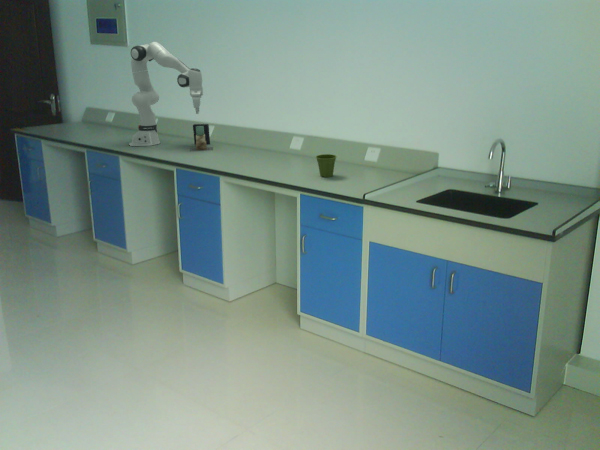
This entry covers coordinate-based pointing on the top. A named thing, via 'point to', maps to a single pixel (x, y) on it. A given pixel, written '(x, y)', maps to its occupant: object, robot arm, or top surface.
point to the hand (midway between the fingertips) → (197, 112)
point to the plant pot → (326, 164)
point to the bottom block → (201, 146)
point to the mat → (201, 150)
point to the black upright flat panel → (206, 132)
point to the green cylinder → (199, 130)
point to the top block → (200, 139)
